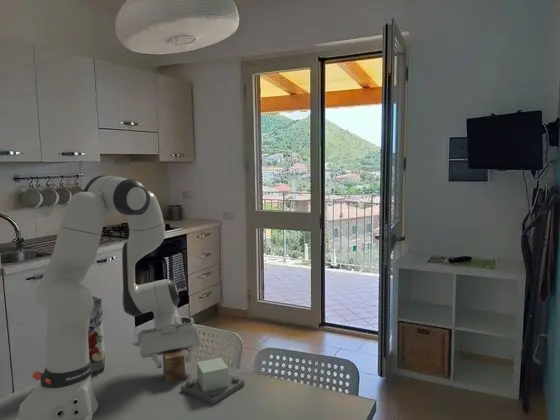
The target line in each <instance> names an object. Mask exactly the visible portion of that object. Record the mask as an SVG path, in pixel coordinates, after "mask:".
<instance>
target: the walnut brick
mask: <svg viewBox="0 0 560 420" xmlns="http://www.w3.org/2000/svg"><path fill="white" fill-rule="evenodd" d="M185 363H186V360H185V354H184V351H182V350H181V349H176V350H171V351H165V352H163V355H162V367H163V370H162V371H163V376H164V377H163V378H164V380H165V382H166V383H171V382H177V381H181V380H186V366H185V365H186V364H185Z"/></svg>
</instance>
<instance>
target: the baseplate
mask: <svg viewBox="0 0 560 420" xmlns="http://www.w3.org/2000/svg"><path fill="white" fill-rule="evenodd" d="M196 376H197V377H195V378H193V379H191V380H188V381H186V383H184V384H182V385H181V386H180V391H181V392H183V393H185V394H187V395H190V396H193V397H194V398H197V399H200V400H201V401H204V402H207V403H208V404H211V405H215V404H216V403H218V402H219V401H221V400H223V399H224V398H226V397H228V396H230V395H231V394H232V393H234V392H235V391H237V390H238V389H241V388H243V386H245V379H241V378H239V376H232V375H230V373H229V367H228V365H227V363H226V362H225V361H224V360H223V358H222V357H217V358H211V359H207V360H203V361H197V362H196Z"/></svg>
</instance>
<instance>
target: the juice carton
mask: <svg viewBox="0 0 560 420" xmlns="http://www.w3.org/2000/svg"><path fill="white" fill-rule="evenodd" d="M92 297H93V300H94V308H93V311H92V313H91V315H90V322H89V329H88V346H89V358H90V360H91V367H92V376H93V375H96V374H99V373H101V372H104V371H105V366H106V365H105V364H106V351H105V335H104V318H103V315H104V314H103V304H102V299H101V298H99V297H97V296H94V295H92Z"/></svg>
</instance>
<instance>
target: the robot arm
mask: <svg viewBox="0 0 560 420" xmlns="http://www.w3.org/2000/svg"><path fill="white" fill-rule="evenodd" d="M111 213H112V214H116V215H117V214H118V215H124V216H126V220H127V224H128V231H129V235H128V239H127V241H125V242H124V243H123V245H122V250H121V257H122V258H121V261H122V262H121V263H122V264H121V265H122V268H121V269H122V270H121V271H122V294H121V295H122V297H121V305H122V309H123V311H124V313H126V314H128V315H130V317H131V316H132V317H134V318H135V317H137V316H140V315H143V314H146V313H149V312H152V313H153V326H154V328H149V329H142V330H141V331H140V332H139V333H138V334H137V335H136V336H137V342H138V343H139V355H140V357H141V358H142V359H146V358H151V359H152V361H153V362H154V363H155V365H156V369H161V368H162V367H163V361H162V360H158V358H157V357H158V356H163V352H165V351H171V350H176V349H181V350H182V352H185V351H187V353H188V354H187V355H185V356H184V360H185V363H186V364H187V363H191V361H192V360H191V355H192V352H193V350H195V349H199V348H200V347H201V345H202V337H201V335H200V334H201V333H200V331H199V329H198V327H197V326H196V325H195V321H194V320H195V319H194V318H193V317H187V316H180V315H179V312H178V305H179V304H180V302H181V299H180V296H179V288H178V284H177V283H176V282H174V281H173V280H172V279H170V278H168V279H167V278H166V279H164V278H163V279H161V280H155V281H152V282H148V283H142V284H136V264H137V262H138V261H140V260H141V259H142V258H144V257H145V256H147V255H148V254H150V253H152V252H154V251H155V250H157V249H158V247H160V246H161V244H162V243H163V242H164V240H165V237H166V226H165V221H164V217H163V212H162V209H161V206H160V204H159V201H158V199H157V196H156V195H155V194H154V193H153V192H152V191H149V190H147V188H146V187H145V186H144V185H143V183H141V182H139V181H138V180H136V179H133V178H132V179H131V178H125V177H122V176H119V175H98V176H95V177H93V178H92V179H90V180H89V181H88V182H87V184H86V185H85V187H84V189H82V191H80V192H76V193H75V194H73V195H72V196H71V197H70V200H69V201H68V203H67V206H66V208H65V211H64V212H63V216H62V218H61V222H60V225H59V229H58V233H57V236H56V241H55V245H54V248H53V252H52V254H51V257H50V260H49V262H48V264H47V265H46V268H45V270H44V273H43V276H42V277H41V280H40V281H39V282H38V284H37V286H36V289H35V291H36V292H35V294H36V300H37V304H38V305H39V307H40V308H41V309H43V310H44V312H45V313H46V317H47V327H46V328H47V329H46V337H45V339H44V352H45V366H46V367H45V368H44V370H43V372H40V371H39V370H36V371H34V372H33V373H32V375H31V376H32V379H35V380H36V381H40V383H39V384H38V385H37V387H35V388H34V390H33V391H32V392H31V393H30V394H29V395H28V396H27V397H26V398H25V399H24V400H23V401H22V402H21V403H20V405H19V408H18V412H17V418H16V419H15V420H93V419H94V417H93V416H94V414H95V412H97V411H98V408H99V402H98V399H97V397H96V394H95V391H94V388H93V387H94V386H93V381H92V377H93V375H92V367H91V360H90V358H89V346H88V329H89V322H90V315H91V313H92V311H93V308H94V300H93V297H92V296H93V295H92V293H91V291H90V290H89V289H88V287H87V286H85V285H83V283H84V280H85V278H86V275H87V273H88V272H89V269H90V268H91V266H92V265H93V264H94V263H95V260H96V258H97V253H98V249H99V246H100V242H101V237H102V233H103V230H104V229H103V227H104V224H105V223H104V222H105V220H106V218H107V217H108V216H109V214H111Z"/></svg>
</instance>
